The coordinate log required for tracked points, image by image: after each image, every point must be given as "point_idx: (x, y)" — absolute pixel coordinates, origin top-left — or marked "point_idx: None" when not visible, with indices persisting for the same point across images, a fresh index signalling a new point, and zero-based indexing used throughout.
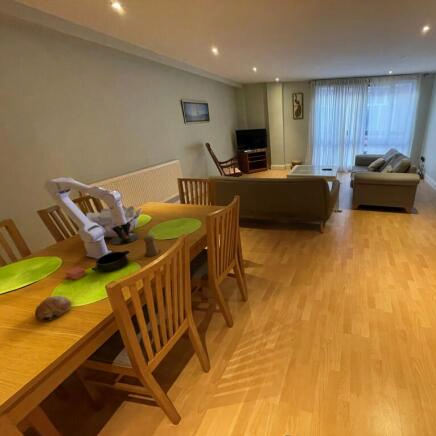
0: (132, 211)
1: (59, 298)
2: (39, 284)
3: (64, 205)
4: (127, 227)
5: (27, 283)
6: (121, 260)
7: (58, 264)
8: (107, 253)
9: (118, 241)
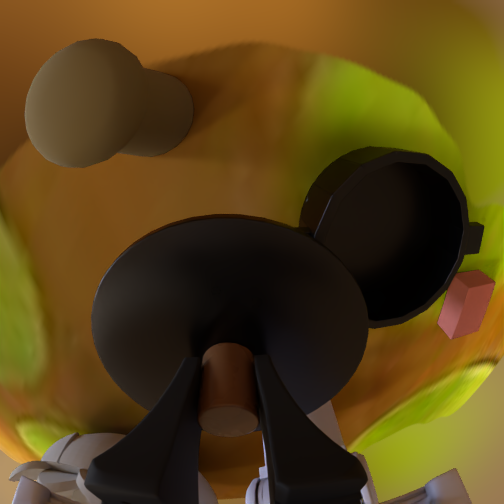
0: None
1: None
2: (483, 343)
3: None
4: (162, 454)
5: (473, 372)
6: (400, 150)
7: (386, 420)
8: None
9: (306, 354)
